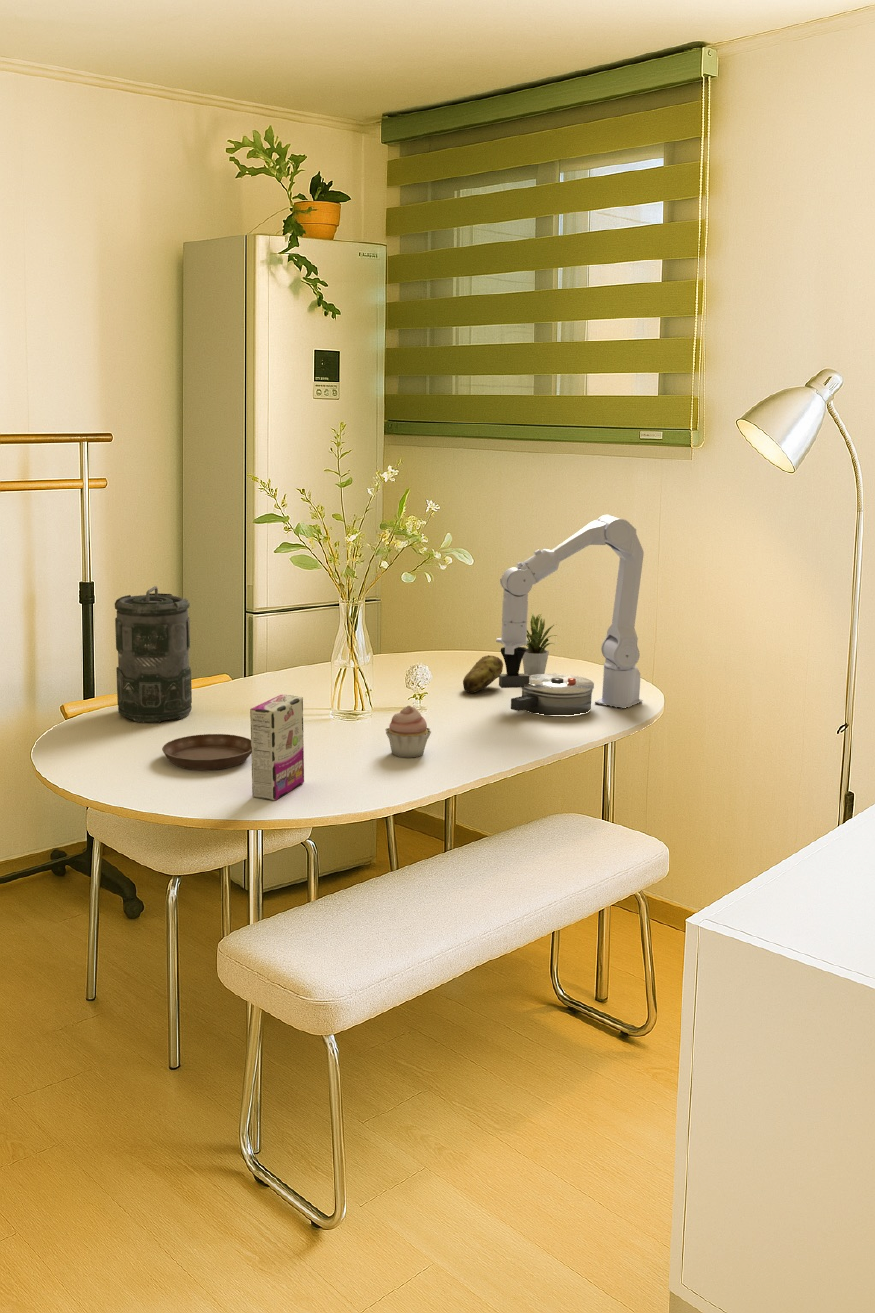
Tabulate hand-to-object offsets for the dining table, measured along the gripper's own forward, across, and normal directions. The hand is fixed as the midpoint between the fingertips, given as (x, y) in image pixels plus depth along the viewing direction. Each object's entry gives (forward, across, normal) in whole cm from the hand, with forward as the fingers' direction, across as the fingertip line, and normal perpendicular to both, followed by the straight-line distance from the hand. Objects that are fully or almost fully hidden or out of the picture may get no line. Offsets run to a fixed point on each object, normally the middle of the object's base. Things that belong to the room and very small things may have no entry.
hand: (512, 678), depth 275 cm
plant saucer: (+7, +57, -51) cm, 77 cm away
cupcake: (+7, +43, -15) cm, 46 cm away
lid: (+1, -1, +8) cm, 8 cm away
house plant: (+7, -35, 0) cm, 36 cm away
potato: (+7, -14, -10) cm, 18 cm away
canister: (+7, +29, -75) cm, 81 cm away
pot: (+7, +1, +8) cm, 11 cm away
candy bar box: (+7, +71, -32) cm, 78 cm away
